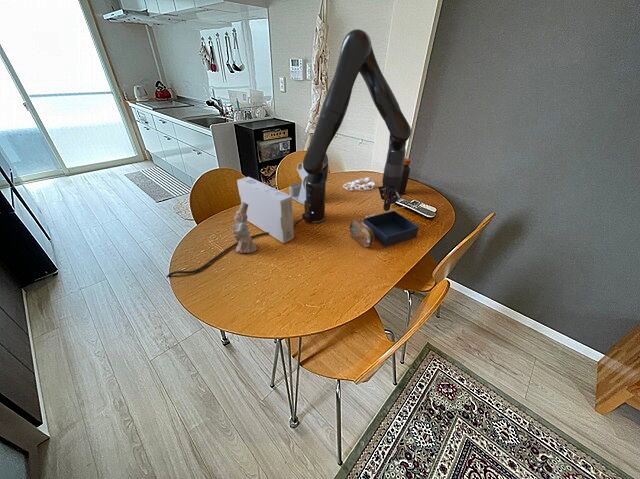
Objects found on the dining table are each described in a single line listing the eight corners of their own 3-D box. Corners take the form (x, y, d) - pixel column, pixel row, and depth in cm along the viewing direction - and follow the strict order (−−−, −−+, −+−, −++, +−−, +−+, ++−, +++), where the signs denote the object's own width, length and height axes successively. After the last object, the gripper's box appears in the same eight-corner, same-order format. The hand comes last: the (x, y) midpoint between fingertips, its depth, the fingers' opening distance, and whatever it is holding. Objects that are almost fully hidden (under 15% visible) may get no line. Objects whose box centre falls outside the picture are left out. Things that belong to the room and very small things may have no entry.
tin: (348, 233, 117) (350, 217, 112) (354, 231, 118) (356, 215, 114) (368, 251, 106) (370, 234, 101) (374, 249, 107) (377, 232, 103)
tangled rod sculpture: (348, 195, 152) (349, 189, 150) (340, 184, 163) (340, 178, 160) (378, 191, 157) (379, 185, 154) (367, 180, 167) (368, 175, 165)
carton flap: (374, 214, 110) (374, 214, 110) (364, 217, 118) (364, 216, 118) (405, 206, 117) (405, 206, 117) (394, 209, 124) (394, 209, 124)
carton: (385, 247, 109) (387, 236, 106) (362, 228, 121) (364, 218, 118) (416, 236, 116) (419, 226, 113) (392, 220, 128) (394, 210, 125)
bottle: (395, 189, 158) (402, 157, 147) (406, 192, 155) (413, 159, 144) (391, 193, 154) (397, 159, 142) (402, 196, 151) (409, 162, 139)
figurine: (256, 241, 110) (250, 199, 99) (257, 253, 104) (250, 209, 92) (235, 244, 109) (226, 201, 97) (234, 256, 102) (224, 212, 91)
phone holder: (287, 196, 148) (285, 165, 138) (301, 191, 154) (300, 161, 144) (306, 206, 138) (306, 174, 128) (320, 201, 144) (321, 169, 133)
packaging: (294, 237, 113) (292, 196, 102) (283, 243, 110) (280, 201, 98) (253, 214, 130) (248, 176, 119) (243, 218, 127) (236, 179, 115)
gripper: (411, 177, 103) (402, 214, 113) (389, 166, 113) (383, 202, 123) (396, 180, 100) (389, 218, 110) (375, 169, 110) (370, 205, 120)
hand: (386, 210), depth 116 cm, fingers closed
